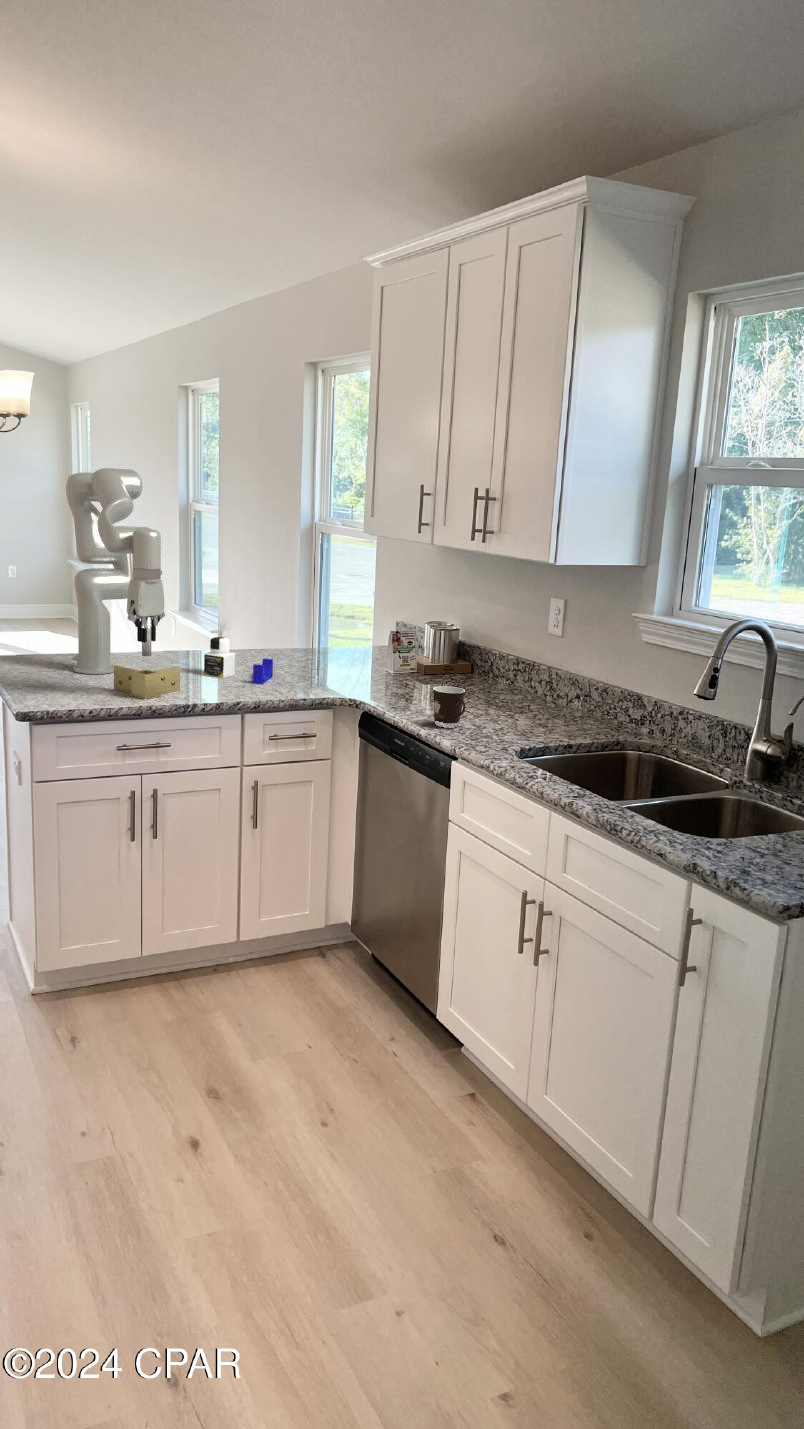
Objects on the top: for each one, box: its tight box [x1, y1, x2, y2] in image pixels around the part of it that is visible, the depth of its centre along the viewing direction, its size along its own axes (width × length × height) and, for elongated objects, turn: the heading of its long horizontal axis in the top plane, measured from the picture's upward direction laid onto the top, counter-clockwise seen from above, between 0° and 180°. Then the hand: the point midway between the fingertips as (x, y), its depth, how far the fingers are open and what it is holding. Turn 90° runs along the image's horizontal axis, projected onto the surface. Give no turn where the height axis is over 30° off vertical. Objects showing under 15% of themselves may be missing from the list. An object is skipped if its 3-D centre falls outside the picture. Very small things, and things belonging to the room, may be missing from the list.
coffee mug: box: [432, 685, 466, 723], centre depth 278 cm, size 12×9×10 cm
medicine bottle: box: [203, 636, 236, 679], centre depth 326 cm, size 7×7×12 cm
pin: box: [141, 616, 153, 657], centre depth 288 cm, size 3×3×13 cm
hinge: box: [113, 664, 181, 700], centre depth 298 cm, size 16×16×7 cm
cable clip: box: [252, 658, 274, 685], centre depth 323 cm, size 12×4×6 cm, turn 172°
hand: (146, 640), depth 288 cm, fingers closed on pin, 2 cm apart
